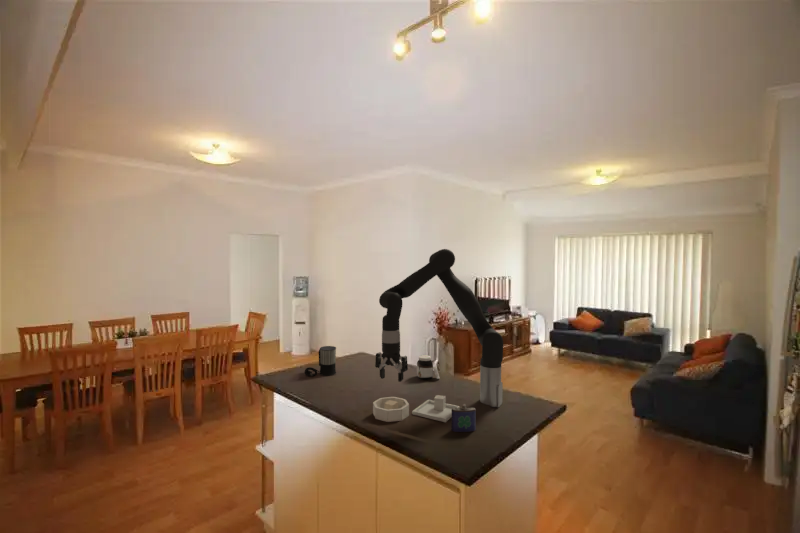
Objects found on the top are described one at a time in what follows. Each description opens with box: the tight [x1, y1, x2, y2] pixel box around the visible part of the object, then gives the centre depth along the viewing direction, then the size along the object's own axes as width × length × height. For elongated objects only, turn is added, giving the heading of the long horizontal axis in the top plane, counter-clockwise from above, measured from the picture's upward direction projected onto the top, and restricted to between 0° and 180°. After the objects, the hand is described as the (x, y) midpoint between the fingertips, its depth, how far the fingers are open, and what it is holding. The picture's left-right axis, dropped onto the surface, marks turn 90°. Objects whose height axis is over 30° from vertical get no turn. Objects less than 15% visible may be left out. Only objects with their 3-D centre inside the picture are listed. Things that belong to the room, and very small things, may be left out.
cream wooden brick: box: [385, 400, 398, 410], centre depth 154 cm, size 4×4×5 cm
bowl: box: [372, 396, 410, 423], centre depth 154 cm, size 14×14×5 cm
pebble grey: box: [433, 394, 447, 411], centre depth 159 cm, size 4×4×5 cm
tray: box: [411, 399, 461, 423], centre depth 156 cm, size 15×15×2 cm
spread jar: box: [416, 354, 440, 381], centre depth 204 cm, size 12×11×12 cm
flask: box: [451, 403, 477, 433], centre depth 139 cm, size 9×3×11 cm, turn 95°
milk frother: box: [304, 345, 337, 377], centre depth 210 cm, size 14×16×15 cm
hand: (391, 379), depth 153 cm, fingers open, 8 cm apart
